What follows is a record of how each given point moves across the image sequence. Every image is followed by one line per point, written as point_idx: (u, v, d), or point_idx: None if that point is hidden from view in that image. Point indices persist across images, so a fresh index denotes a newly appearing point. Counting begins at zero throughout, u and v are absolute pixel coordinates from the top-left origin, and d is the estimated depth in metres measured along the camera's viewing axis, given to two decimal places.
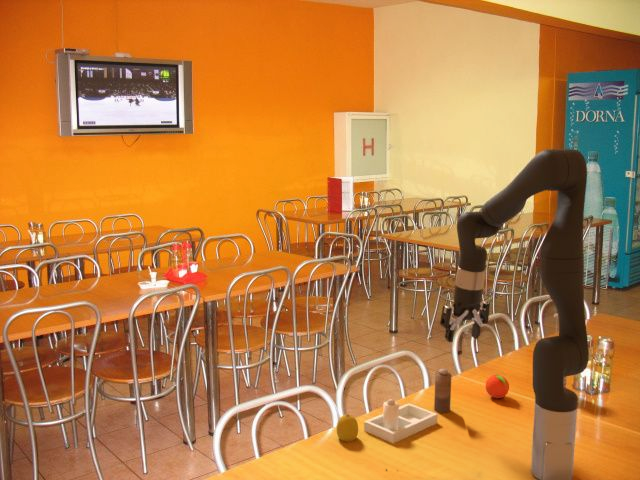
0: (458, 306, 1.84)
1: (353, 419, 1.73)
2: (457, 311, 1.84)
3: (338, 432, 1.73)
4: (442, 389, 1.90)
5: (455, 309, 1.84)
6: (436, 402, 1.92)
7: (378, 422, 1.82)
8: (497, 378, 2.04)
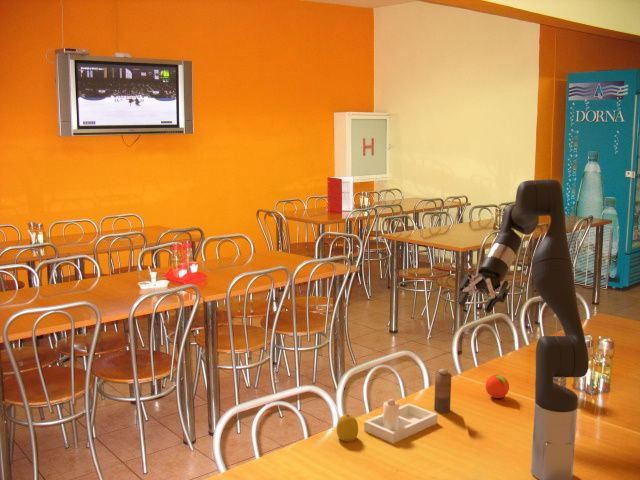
0: (477, 274, 2.00)
1: (353, 419, 1.73)
2: (475, 278, 2.00)
3: (338, 432, 1.73)
4: (442, 389, 1.90)
5: (474, 277, 2.00)
6: (436, 402, 1.92)
7: (378, 422, 1.82)
8: (497, 378, 2.04)
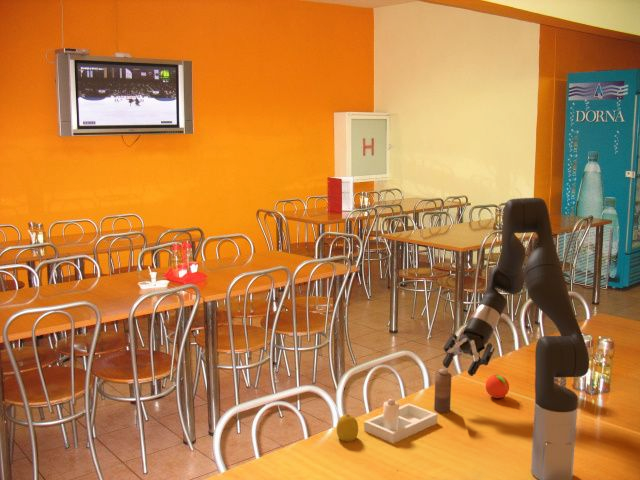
0: (462, 335, 2.01)
1: (353, 419, 1.73)
2: (459, 339, 2.01)
3: (338, 432, 1.73)
4: (442, 389, 1.90)
5: (459, 338, 2.02)
6: (436, 402, 1.92)
7: (378, 422, 1.82)
8: (497, 378, 2.04)
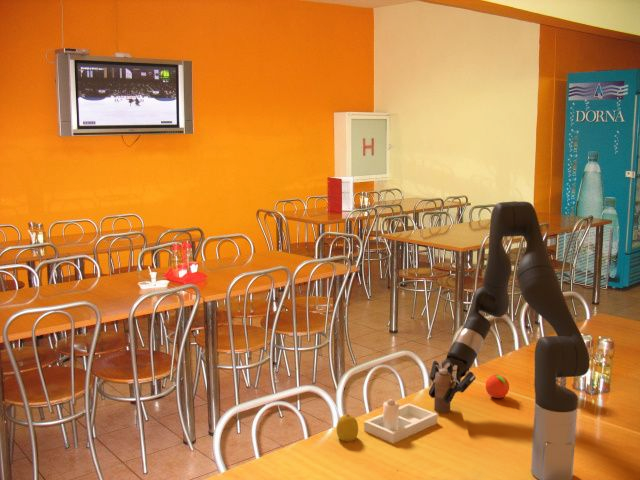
0: (444, 360, 1.97)
1: (353, 419, 1.73)
2: (443, 364, 1.96)
3: (338, 432, 1.73)
4: (442, 389, 1.90)
5: (442, 363, 1.97)
6: (436, 402, 1.91)
7: (378, 422, 1.82)
8: (497, 378, 2.04)
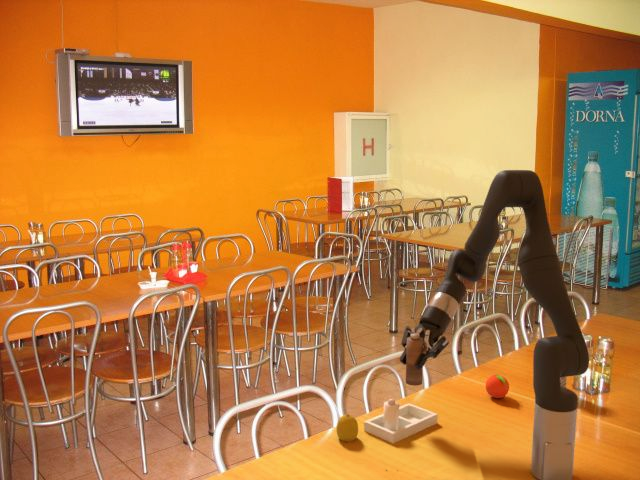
0: (417, 325, 1.87)
1: (353, 419, 1.73)
2: (415, 330, 1.87)
3: (338, 432, 1.73)
4: (414, 354, 1.80)
5: (414, 329, 1.87)
6: (407, 369, 1.82)
7: (378, 422, 1.82)
8: (497, 378, 2.04)
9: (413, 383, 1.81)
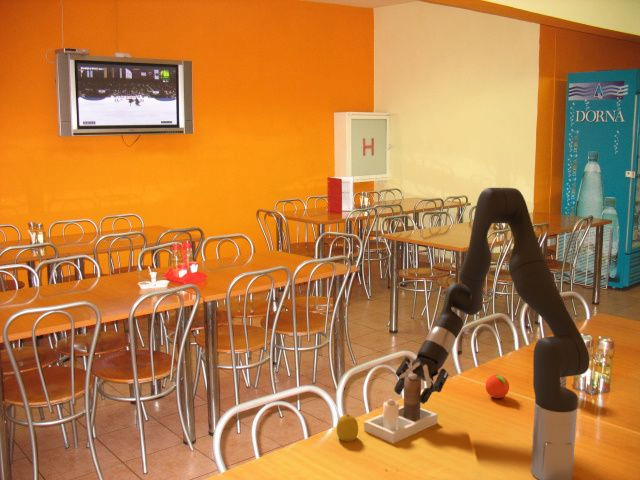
0: (415, 359, 1.88)
1: (353, 419, 1.73)
2: (412, 363, 1.88)
3: (338, 432, 1.73)
4: (411, 395, 1.81)
5: (412, 361, 1.89)
6: (405, 409, 1.83)
7: (378, 422, 1.82)
8: (497, 378, 2.04)
9: None
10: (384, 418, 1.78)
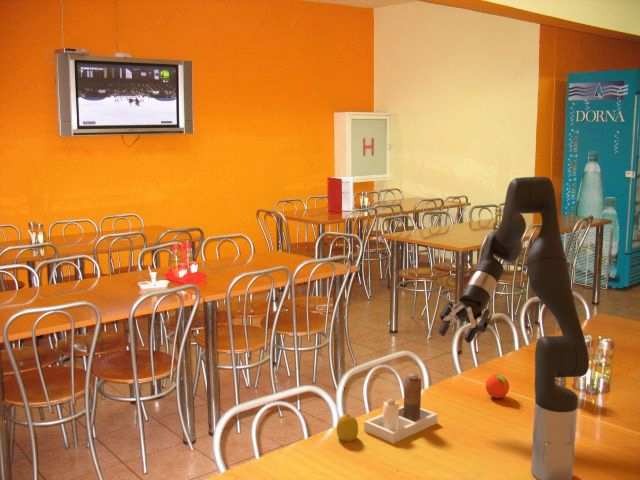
0: None
1: (353, 419, 1.73)
2: (456, 306, 1.96)
3: (338, 432, 1.73)
4: (412, 395, 1.81)
5: (455, 305, 1.97)
6: (405, 409, 1.83)
7: (378, 422, 1.82)
8: (497, 378, 2.04)
9: None
10: (384, 418, 1.77)
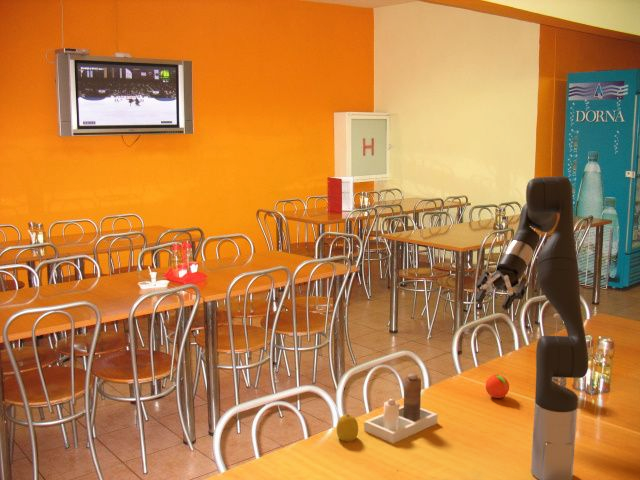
0: (495, 271, 1.98)
1: (353, 419, 1.73)
2: (492, 275, 1.98)
3: (338, 432, 1.73)
4: (411, 395, 1.81)
5: (492, 274, 1.98)
6: (405, 409, 1.83)
7: (378, 422, 1.82)
8: (497, 378, 2.04)
9: None
10: (384, 418, 1.78)
